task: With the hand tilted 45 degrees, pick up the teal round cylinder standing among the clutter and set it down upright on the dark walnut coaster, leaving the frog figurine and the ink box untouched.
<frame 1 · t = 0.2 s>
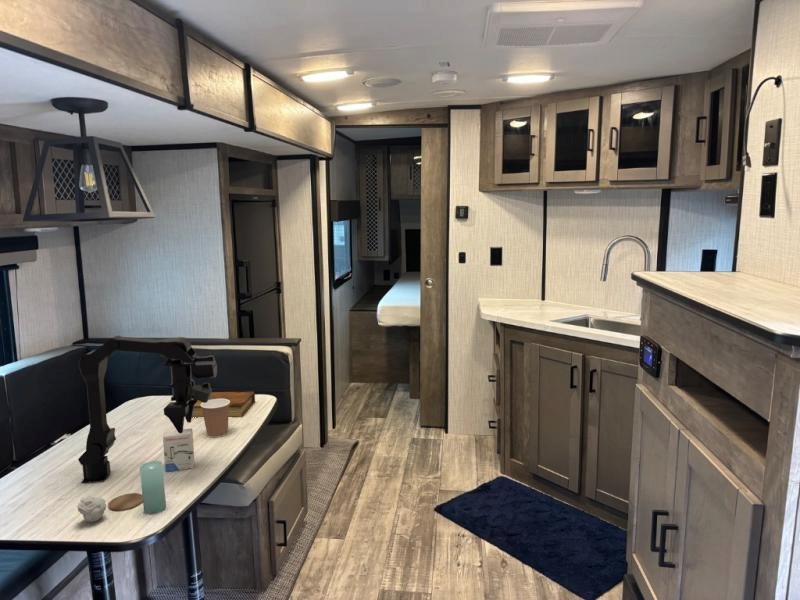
hand: (185, 427, 172), 14 cm above the table, tool pointing down, fingers open, 9 cm apart
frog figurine: (93, 521, 146), on the table
ink box: (180, 467, 178), on the table
coaster: (126, 502, 155), on the table
teal round cylinder: (155, 508, 152), on the table
diary: (221, 411, 232), on the table
coffee cup: (217, 434, 205), on the table
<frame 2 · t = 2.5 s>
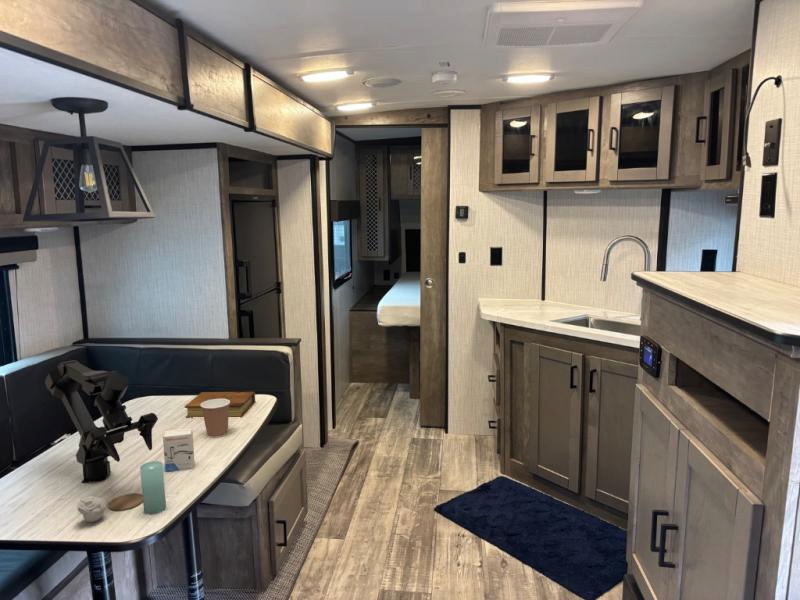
hand: (135, 455, 154), 14 cm above the table, tool tilted 45°, fingers open, 9 cm apart
nothing on the table moved.
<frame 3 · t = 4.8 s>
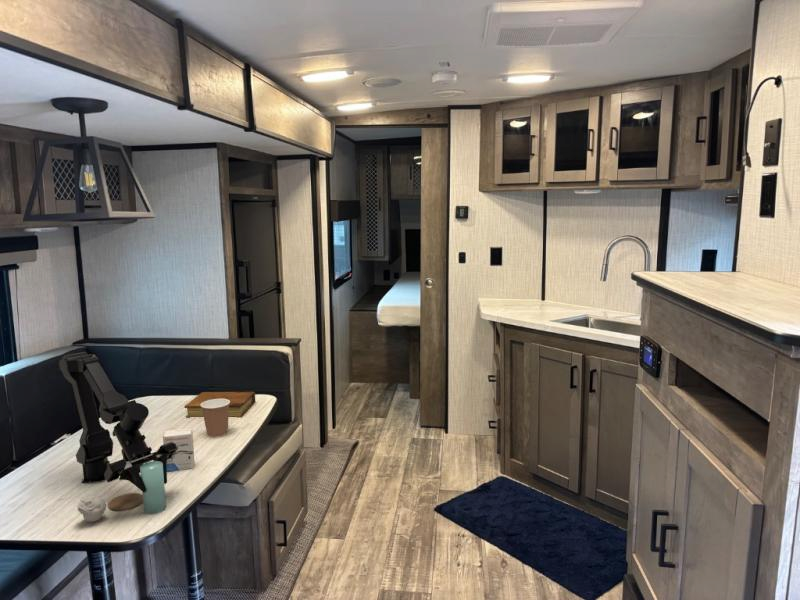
hand: (155, 487, 150), 7 cm above the table, tool tilted 45°, fingers closed on teal round cylinder, 6 cm apart
teal round cylinder: (155, 508, 152), on the table, touching gripper
everything else where it was.
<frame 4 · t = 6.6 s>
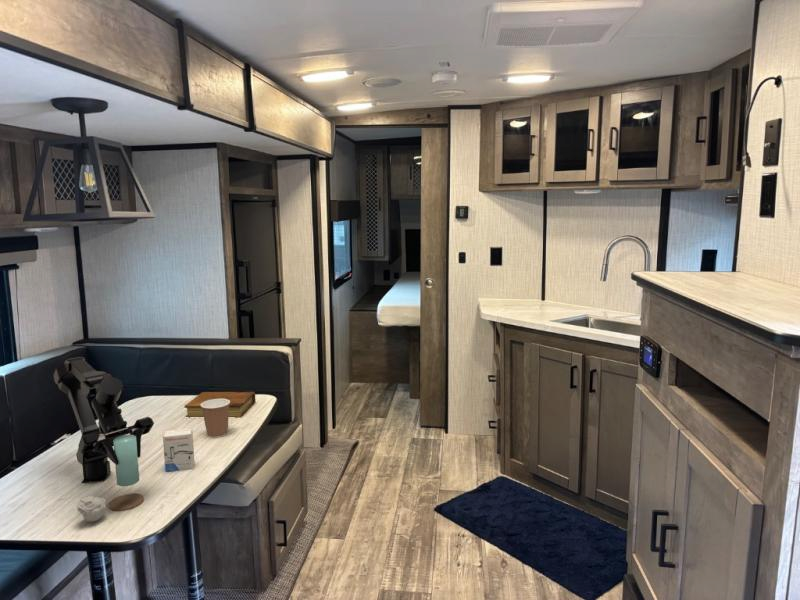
hand: (128, 460, 152), 13 cm above the table, tool tilted 45°, fingers closed on teal round cylinder, 6 cm apart
teal round cylinder: (128, 481, 154), point 7 cm above the table, touching gripper
everything else where it was.
when the fingers open (8 cm above the table, at t = 8.2 s): teal round cylinder stays where it is, resting on coaster.
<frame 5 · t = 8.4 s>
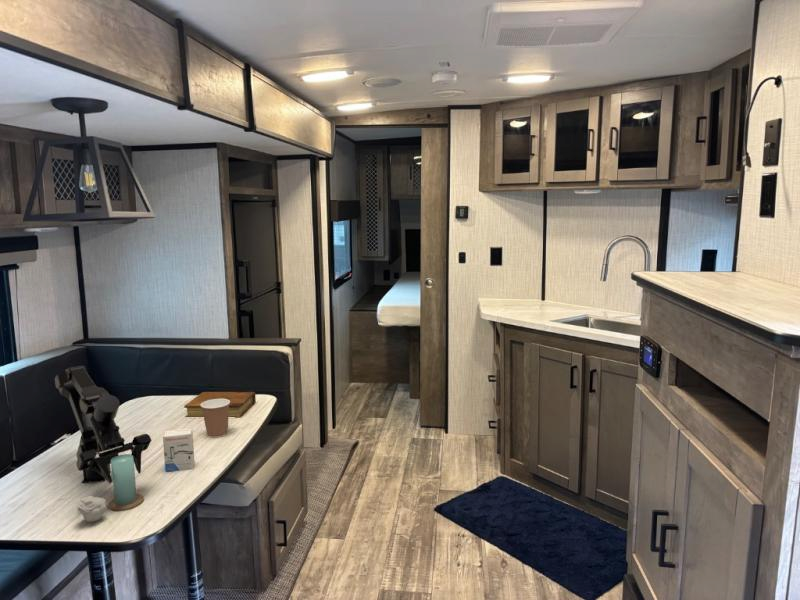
hand: (125, 477, 153), 8 cm above the table, tool tilted 45°, fingers open, 7 cm apart
teal round cylinder: (125, 500, 155), point 1 cm above the table, touching coaster
everything else where it was.
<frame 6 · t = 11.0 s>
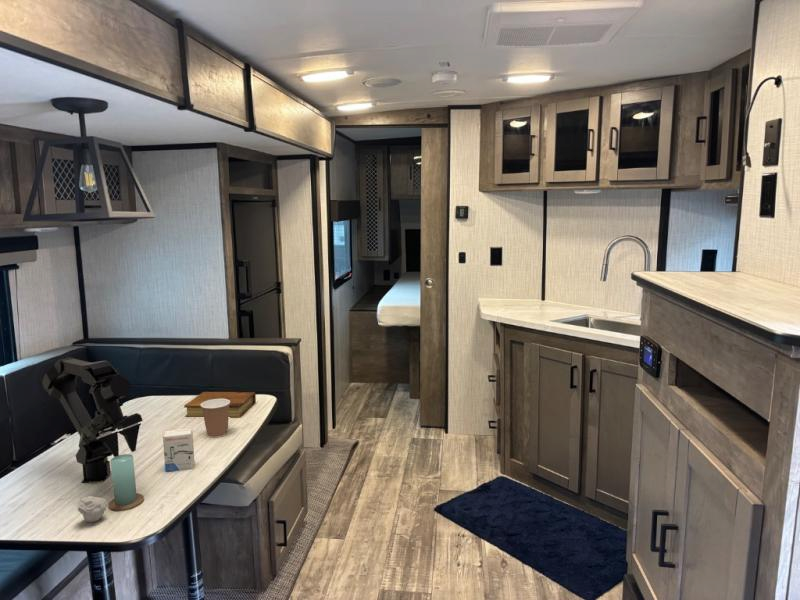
hand: (125, 454, 162), 11 cm above the table, tool tilted 20°, fingers open, 9 cm apart
nothing on the table moved.
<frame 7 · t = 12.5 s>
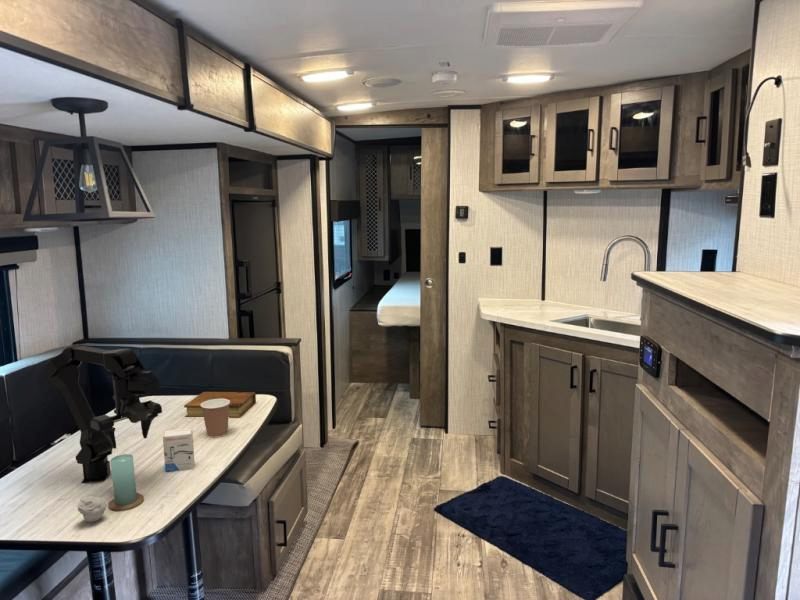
hand: (130, 443, 164), 13 cm above the table, tool pointing down, fingers open, 9 cm apart
nothing on the table moved.
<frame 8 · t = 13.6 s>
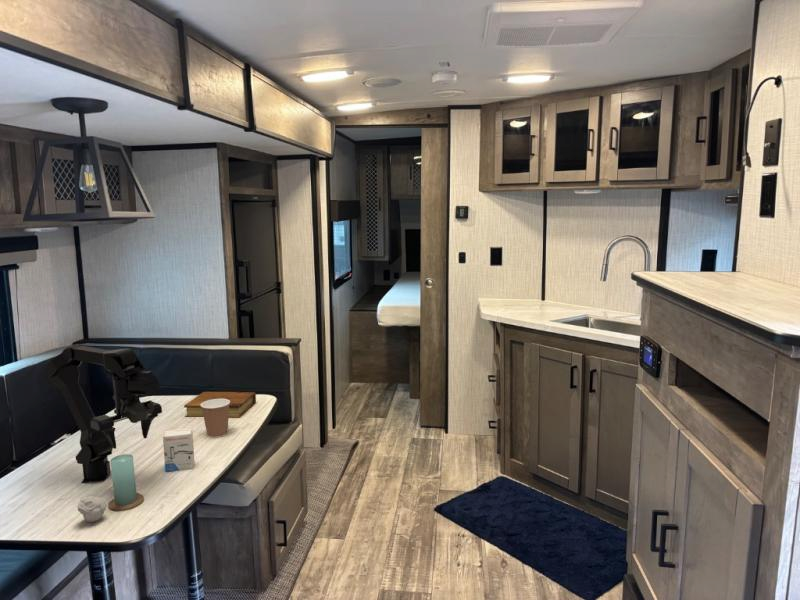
hand: (130, 443, 164), 13 cm above the table, tool pointing down, fingers open, 9 cm apart
nothing on the table moved.
at the end: teal round cylinder inside the target area on the coaster (0.1 cm from its centre), point 0.6 cm above the coaster's base; teal round cylinder tilted 0°; the gripper is holding nothing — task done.
